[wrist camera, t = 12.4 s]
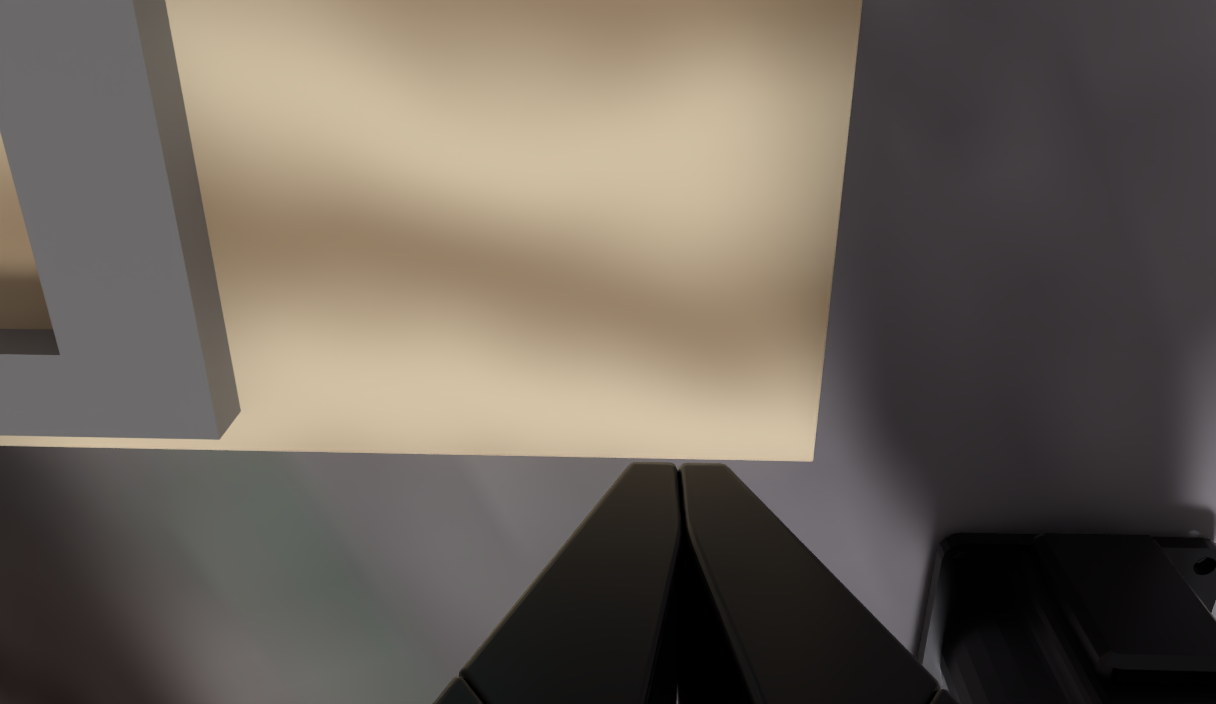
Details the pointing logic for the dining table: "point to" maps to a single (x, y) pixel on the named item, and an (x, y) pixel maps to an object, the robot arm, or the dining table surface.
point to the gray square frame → (109, 230)
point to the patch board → (510, 222)
